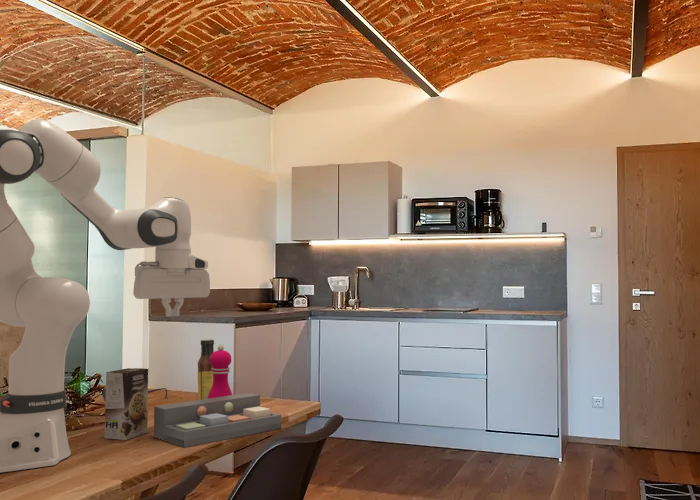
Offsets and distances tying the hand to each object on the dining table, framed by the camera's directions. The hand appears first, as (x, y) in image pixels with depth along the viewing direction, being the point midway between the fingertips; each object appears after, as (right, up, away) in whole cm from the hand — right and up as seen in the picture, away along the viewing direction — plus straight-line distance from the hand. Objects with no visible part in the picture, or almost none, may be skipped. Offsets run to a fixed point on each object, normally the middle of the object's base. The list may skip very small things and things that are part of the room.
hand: (172, 316), depth 177 cm
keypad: (+12, -29, -2) cm, 32 cm away
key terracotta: (+16, -27, -2) cm, 32 cm away
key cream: (+21, -26, +3) cm, 34 cm away
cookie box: (-10, -29, -5) cm, 31 cm away
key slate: (+12, -26, -6) cm, 29 cm away
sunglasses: (-22, -31, +43) cm, 57 cm away
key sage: (+7, -27, -11) cm, 30 cm away
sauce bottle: (+2, -31, +36) cm, 47 cm away
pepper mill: (+9, -30, +19) cm, 36 cm away
